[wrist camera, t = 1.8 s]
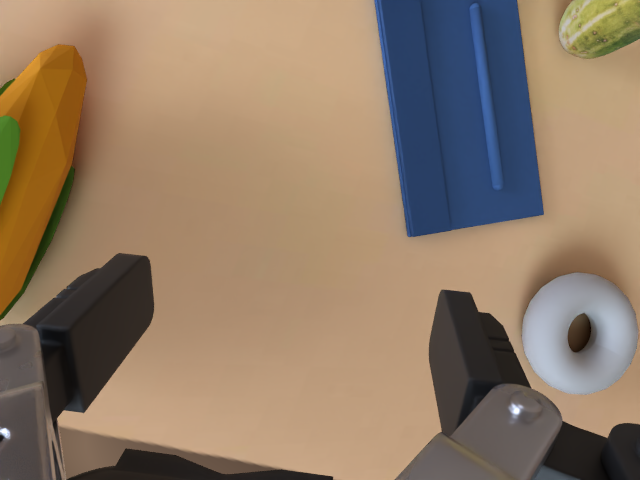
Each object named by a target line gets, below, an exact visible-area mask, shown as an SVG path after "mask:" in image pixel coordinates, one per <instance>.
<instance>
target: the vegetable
mask: <svg viewBox="0 0 640 480" xmlns="http://www.w3.org/2000/svg"><path fill="white" fill-rule="evenodd" d="M559 39H560V42H561V44H562V46H563V48H564V49H565V50H566V51H567V52H568V53H570V54H572V55H574V56H577V57H580V58H585V59H591V58H596V57H600V56H603V55H606V54H609V53H611V52H613V51H616V50H618V49H620V48H622V47H624V46H626V45H628V44H630V43H632V42H634V41H636V40H638V39H640V0H573V1H572V2H571V3H570V5H569V6H568V7H567V9H566V11H565V12H564V14H563V16H562V19H561V21H560V25H559Z"/></svg>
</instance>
